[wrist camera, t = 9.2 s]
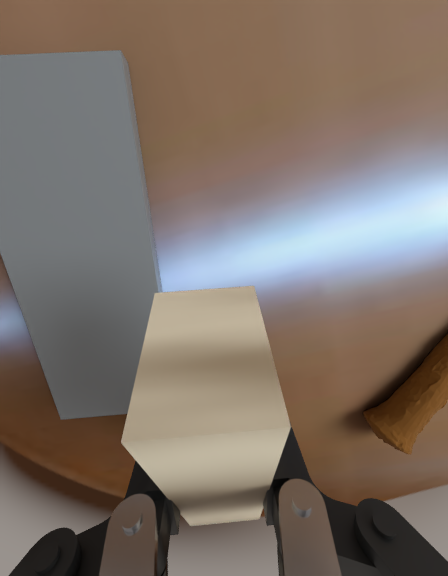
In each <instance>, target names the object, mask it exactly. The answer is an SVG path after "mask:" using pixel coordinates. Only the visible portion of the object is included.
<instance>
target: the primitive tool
mask: <svg viewBox="0 0 448 576" xmlns="http://www.w3.org/2000/svg"><path fill="white" fill-rule="evenodd" d="M447 400H448V333H447V335H446V336H445V337H444V338H443V339H442V340H441V341H440V342H439V343H438V344H437V346H435V348H434V349H433V350H432V351H431V352H430V354H429V355H428V356H427V357H426V358H425V359H424V361H423V363H422V364H421V366H420V367H419V368H418V369H417V370H416V371H415V372H414V373H413V374H412V375H411V376H410V377H409V378H408V379H407V380H406V382H405V383H404V384H403V385H401V386H400V387H399V388H398V389H397V390H396V391H395V392H394V393H393V395H392V396H391V397H390V398H389V399H388V400H387V401H385V403H381V404H380V405H379V406H378V407H375V408H371V409H369V410H366V411H364V413H363V415H364V416H365V419H366V421H367V422H368V424H369V425H370V427H371V428H372V430H373V432H374V433H375V434H376V436H377V437H378V438H379V439H383V441H384V442H385V443H388V444H389V445H391V446H393V447H394V448H395V449H397V450H400V451H402V452H404V453H406V454H411V453H412V447H413V444H414V443H415V441H416V437H417V435H418V433H420V432H421V431H422V430H423V428H424V426H425V425H426V424H427V423H428V422H429V421H430V419H431V418H432V416H433V415H434V414H435V413H436V412H437V411H438V410H439V409H441V408H443V407H444V406H445V404H446V403H447Z"/></svg>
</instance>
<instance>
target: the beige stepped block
mask: <svg viewBox="0 0 448 576" xmlns="http://www.w3.org/2000/svg"><path fill="white" fill-rule="evenodd" d="M290 428H291V426H290V422H289V418H288V414H287V410H286V407H285V403H284V399H283V395H282V391H281V387H280V384H279V380H278V376H277V372H276V368H275V364H274V361H273V357H272V353H271V349H270V345H269V341H268V338H267V334H266V330H265V326H264V322H263V318H262V315H261V311H260V307H259V303H258V299H257V295H256V292H255V288H254V286H246V287H232V288H218V289H204V290H190V291H177V292H163V293H155V294H154V299H153V303H152V308H151V312H150V316H149V321H148V325H147V330H146V334H145V339H144V343H143V347H142V352H141V356H140V361H139V365H138V369H137V374H136V378H135V383H134V387H133V392H132V396H131V400H130V405H129V409H128V414H127V418H126V422H125V427H124V431H123V436H122V440H121V443H122V444H123V446H124V447H125V448H126V449H127V450H128V452H129V453H130V454H131V455H132V456H133V458H134V459H135V460H136V461H137V462H138V464H139V465H140V466H141V467H142V468H143V469H144V471H145V472H146V473H147V474H148V475H149V477H150V478H151V479H152V480H153V481H154V483H155V484H156V485H157V486H158V487H159V489H160V490H161V491H162V492H163V493H164V495H165V496H166V497H167V498H168V499H169V500H172V501H173V502H174V504H175V505H176V506H177V507H178V509H179V510H180V514H181V515H182V516H183V517H184V519H186V521H187V522H188V523H189V525H190V526H197V525H206V524H216V523H225V522H236V521H245V520H255V519H259V518H260V515H261V512H262V509H263V501H264V498H265V495H266V492H267V490H269V489H270V486H271V483H272V480H273V477H274V475H275V472H276V469H277V466H278V463H279V460H280V457H281V454H282V451H283V448H284V446H285V443H286V440H287V437H288V434H289V431H290Z"/></svg>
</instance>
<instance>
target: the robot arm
mask: <svg viewBox="0 0 448 576" xmlns="http://www.w3.org/2000/svg"><path fill="white" fill-rule="evenodd" d="M289 422H290V421H289ZM290 426H291V424H290ZM263 506H264V512H265V518H266V523H267V526H268V525H274V528H275V533H276V538H277V555H278V570H279V576H448V561H446V560H445V559H444V557H443V556H441V554H439V553H438V551H436V550H435V548H434V547H432V546H431V545H430V544H429V542H428V541H426V539H424V538H423V537H422V536H421V535H420V534H419V533H418V532H417V531H416V530H415V529H414V528H413V527H412V526H411V525H410V524H409V523H408V522H407V521H406V520H405V519H404V518H403V517H402V516H401V515H400V514H399V513H398V512H397V511H396V510H395V509H394V508H393V507H391V506H390V505H389V504H387V503H385V502H383V501H381V500H378V499H372V498H369V499H364V500H362V501H361V502H360V503H359V504H358V506H354V505H350V504H347V503H343V502H340V501H336V500H333V499H331V498H329V497H327V496H326V495H324V494H323V493H322V492H321V491H320V490H319V489H318V488H317V487H316V486H315V485H314V483H313V482H312V480H311V478H310V476H309V474H308V471H307V468H306V465H305V462H304V460H303V457H302V454H301V451H300V449H299V446H298V443H297V440H296V437H295V435H294V432H293V429H292V427H291V428H290V431H289V434H288V437H287V440H286V443H285V446H284V448H283V451H282V454H281V457H280V460H279V463H278V466H277V469H276V472H275V475H274V477H273V480H272V483H271V486H270V489H269V490H267V492H266V495H265V498H264V501H263ZM179 521H180V510H179V509H178V507H177V506H176V505H175V504H174V502H173V501H172V500H169V499H168V498H167V497H166V496H165V495H164V493H163V492H162V491H161V490H160V489H159V487H158V486H157V485H156V484H155V483H154V481H153V480H152V479H151V478H150V477H149V475H148V474H147V473H146V472H145V471H144V469H143V468H142V467H141V466H140V465H139V464H138V462H137V461H136V462H135V465H134V469H133V472H132V476H131V479H130V483H129V486H128V490H127V493H126V496H125V498H124V500H123V501H122V502H121V503H120V504H119V505H118V507H117V508H116V509H115V511H114V512H113V514H112V516H111V517H109V518H108V519H107V520H105V521H104V522H102V523H100V524H99V525H96V526H94V527H92V528H90V529H88V530H86V531H84V532H82V533H80V534H78V535H75V533H74V532H73V531H72V530H71V529H69V528H59V529H56V530H53V531H51V532H50V533H48V534H46V535H45V536H44V537H42V538H41V539H40V540H39V541H38V542H37V543H36V544H35V545H34V546H33V547H32V548H31V549H30V550H29V552H28V553H27V554H26V555H25V557H24V558H23V559H22V560H21V562H20V563H19V564H18V565H17V566H16V567H15V569H14V570H13V571H12V572H11V574H10V575H9V576H168V559H167V557H168V548H169V540H170V535H175V534H178V532H179Z"/></svg>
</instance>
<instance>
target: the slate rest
mask: <svg viewBox="0 0 448 576" xmlns="http://www.w3.org/2000/svg"><path fill="white" fill-rule="evenodd" d="M0 253H1V256H2V259H3V262H4V264H5V267H6V270H7V273H8V275H9V278H10V281H11V284H12V286H13V289H14V292H15V295H16V297H17V300H18V303H19V306H20V308H21V311H22V314H23V317H24V319H25V322H26V325H27V328H28V330H29V333H30V336H31V339H32V341H33V344H34V347H35V350H36V352H37V355H38V358H39V361H40V363H41V366H42V369H43V372H44V374H45V377H46V380H47V383H48V385H49V388H50V391H51V394H52V396H53V399H54V402H55V405H56V407H57V410H58V413H59V416H60V418H61V420H62V419H74V418H85V417H96V416H108V415H119V414H128V409H129V405H130V400H131V396H132V392H133V387H134V383H135V378H136V374H137V369H138V365H139V361H140V356H141V352H142V347H143V343H144V339H145V334H146V330H147V325H148V321H149V316H150V312H151V308H152V303H153V299H154V294H155V293H162V286H161V279H160V273H159V266H158V259H157V253H156V246H155V239H154V233H153V226H152V219H151V213H150V206H149V200H148V193H147V186H146V180H145V173H144V166H143V160H142V153H141V146H140V140H139V133H138V127H137V120H136V113H135V107H134V100H133V93H132V87H131V80H130V73H129V67H128V62H127V60H126V59H125V57H124V55H123V54H122V52H121V50H117V51H92V52H68V53H44V54H19V55H0Z"/></svg>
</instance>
